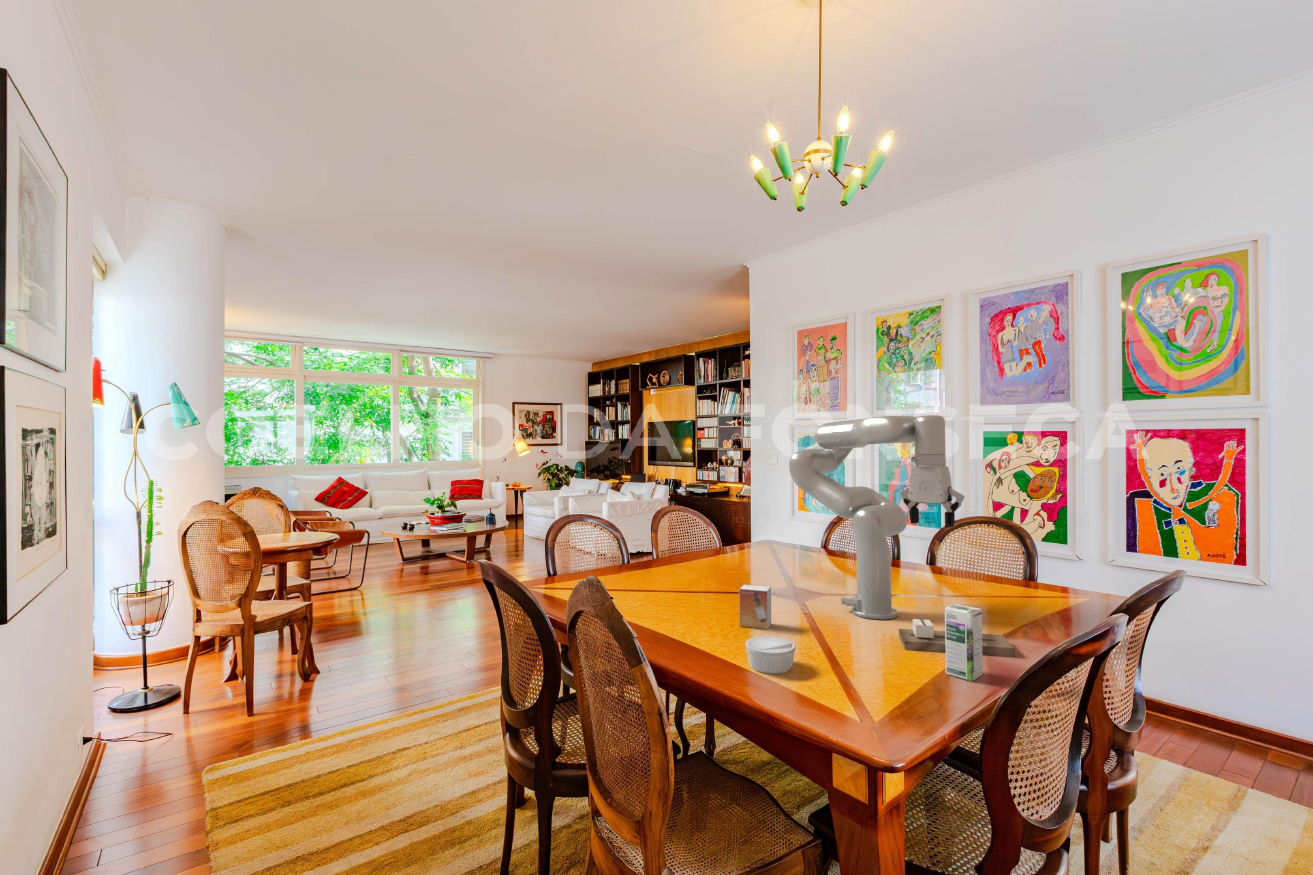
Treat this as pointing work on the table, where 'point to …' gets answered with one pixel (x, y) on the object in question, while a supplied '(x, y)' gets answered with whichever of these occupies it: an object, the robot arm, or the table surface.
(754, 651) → the ramekin
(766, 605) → the small box
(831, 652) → the table surface
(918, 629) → the fader knob
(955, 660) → the syrup box
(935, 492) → the robot arm
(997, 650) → the fader board
